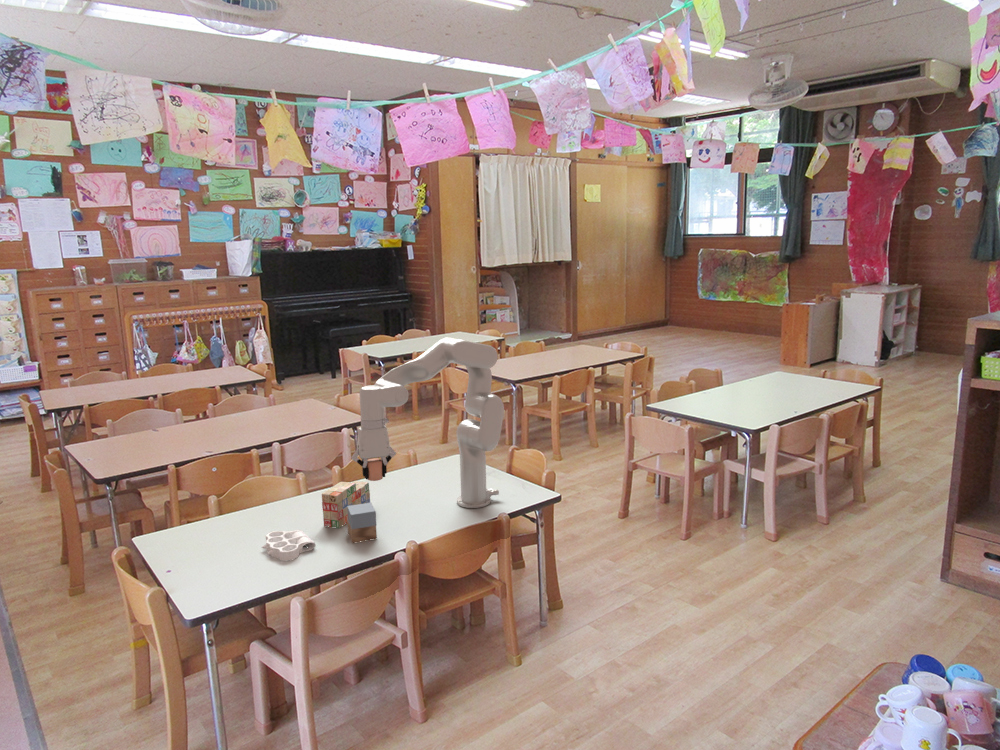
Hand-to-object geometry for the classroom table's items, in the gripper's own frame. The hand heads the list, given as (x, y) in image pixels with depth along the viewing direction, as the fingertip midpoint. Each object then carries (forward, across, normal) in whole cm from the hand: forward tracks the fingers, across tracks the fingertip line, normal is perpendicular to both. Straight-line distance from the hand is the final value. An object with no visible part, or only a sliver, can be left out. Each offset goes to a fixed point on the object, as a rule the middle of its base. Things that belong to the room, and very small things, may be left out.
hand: (374, 476), depth 230 cm
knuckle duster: (+21, +29, -2) cm, 36 cm away
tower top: (+16, +5, 0) cm, 16 cm away
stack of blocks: (+21, +6, -20) cm, 29 cm away
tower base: (+21, +5, 0) cm, 21 cm away
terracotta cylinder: (+1, 0, 0) cm, 1 cm away
